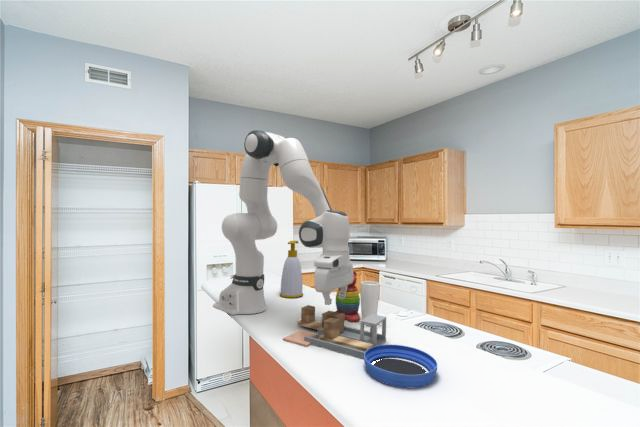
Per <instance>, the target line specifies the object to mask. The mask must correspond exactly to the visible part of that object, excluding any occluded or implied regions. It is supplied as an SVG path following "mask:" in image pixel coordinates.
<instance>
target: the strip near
mask: <svg viewBox="0 0 640 427" xmlns="http://www.w3.org/2000/svg"><path fill="white" fill-rule="evenodd" d="M319 340H323V341H327V342H330V343H334V344H338V345H342V346H346V347H349V348H353V349H357V350H361V351H365V352H366V351H367V350H368V349H369V348H371V347H374V344H370V343H366V342H362V341H358V340H354V339H350V338H346V337H342V336H339V319H335V318H329V319H327V320H325V321H324V334H323V335H321V336H319Z"/></svg>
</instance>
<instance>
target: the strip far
mask: <svg viewBox="0 0 640 427" xmlns="http://www.w3.org/2000/svg"><path fill="white" fill-rule="evenodd" d="M300 316H301V317H300V320H298V321H297V326H300V327H305V328H309V329H312V330H316V331H318V329H321V330H324V328H322V321H321V322H320V321H318V320H317V321H316V306H314V305H309V304H308V305H304V306H302V307H301V313H300ZM342 332H344V328H343V329H341V330H339V334H340V333H342Z"/></svg>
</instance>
